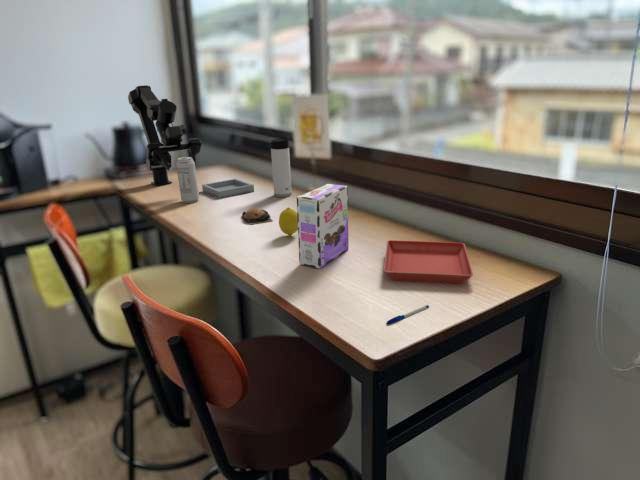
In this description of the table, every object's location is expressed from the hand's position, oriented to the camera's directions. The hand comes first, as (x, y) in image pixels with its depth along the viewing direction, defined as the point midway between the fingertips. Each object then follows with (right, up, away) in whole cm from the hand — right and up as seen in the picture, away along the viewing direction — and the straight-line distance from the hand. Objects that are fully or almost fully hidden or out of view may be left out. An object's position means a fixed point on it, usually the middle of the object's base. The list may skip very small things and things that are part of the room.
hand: (182, 167), depth 165 cm
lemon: (+40, -24, -36) cm, 59 cm away
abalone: (+28, -19, -20) cm, 40 cm away
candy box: (+49, -29, -50) cm, 76 cm away
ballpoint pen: (+64, -39, -78) cm, 108 cm away
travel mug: (+35, -9, +4) cm, 36 cm away
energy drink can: (+3, -12, +1) cm, 12 cm away
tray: (+14, -7, +12) cm, 19 cm away
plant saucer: (+71, -32, -58) cm, 97 cm away
